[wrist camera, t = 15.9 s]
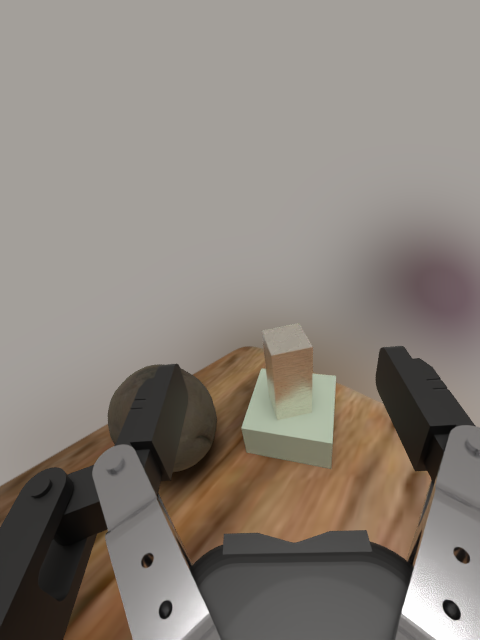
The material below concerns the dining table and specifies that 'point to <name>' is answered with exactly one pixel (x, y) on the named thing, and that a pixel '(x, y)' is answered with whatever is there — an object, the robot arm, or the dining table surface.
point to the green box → (292, 425)
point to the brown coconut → (196, 421)
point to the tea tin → (288, 370)
